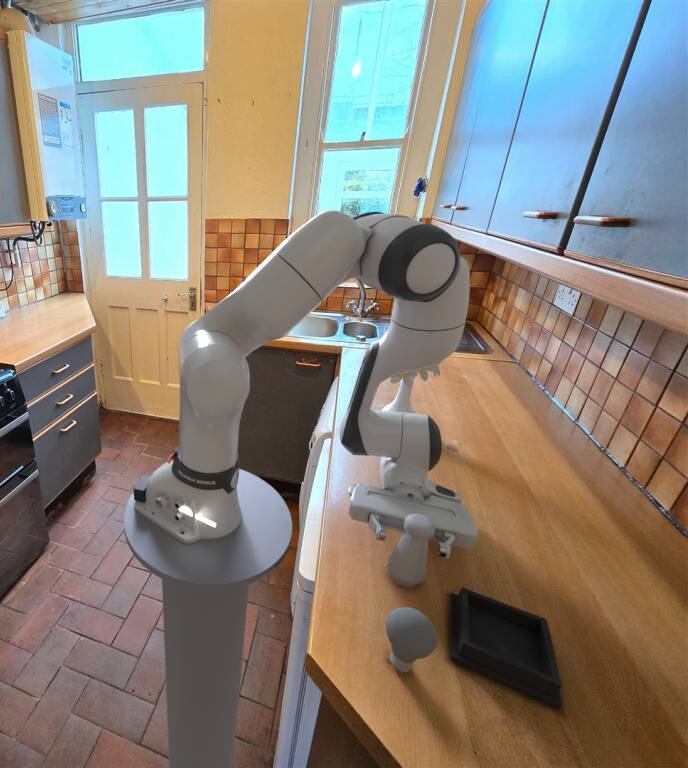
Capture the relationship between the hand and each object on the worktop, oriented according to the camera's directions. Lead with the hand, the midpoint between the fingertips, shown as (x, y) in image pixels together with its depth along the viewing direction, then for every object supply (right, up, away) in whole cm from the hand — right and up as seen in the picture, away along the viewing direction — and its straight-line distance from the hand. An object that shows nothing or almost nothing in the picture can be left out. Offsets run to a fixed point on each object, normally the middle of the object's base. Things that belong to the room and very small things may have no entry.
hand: (411, 546), depth 68 cm
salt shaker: (0, -7, +3) cm, 7 cm away
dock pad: (+8, -11, -8) cm, 16 cm away
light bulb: (-8, -13, -10) cm, 18 cm away
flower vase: (+24, +15, +48) cm, 55 cm away
